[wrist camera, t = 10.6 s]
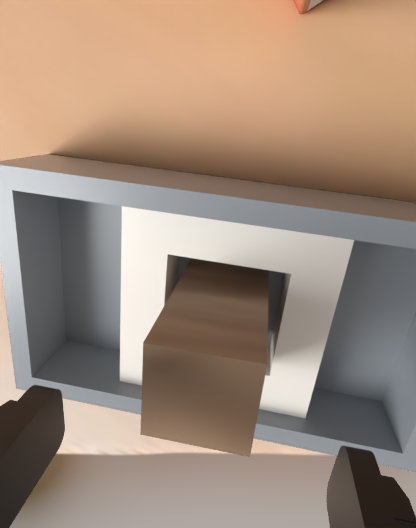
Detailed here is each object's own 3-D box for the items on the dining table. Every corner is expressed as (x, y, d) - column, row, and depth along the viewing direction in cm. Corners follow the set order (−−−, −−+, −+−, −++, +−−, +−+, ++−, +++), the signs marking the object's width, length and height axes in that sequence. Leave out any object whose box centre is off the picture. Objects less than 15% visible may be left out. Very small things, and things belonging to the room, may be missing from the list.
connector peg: (192, 256, 19) (142, 342, 12) (268, 268, 19) (267, 364, 11) (187, 322, 20) (140, 434, 13) (257, 333, 20) (250, 457, 13)
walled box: (48, 154, 19) (-13, 163, 15) (465, 209, 17) (528, 237, 13) (60, 341, 24) (16, 388, 20) (389, 405, 22) (418, 472, 17)
